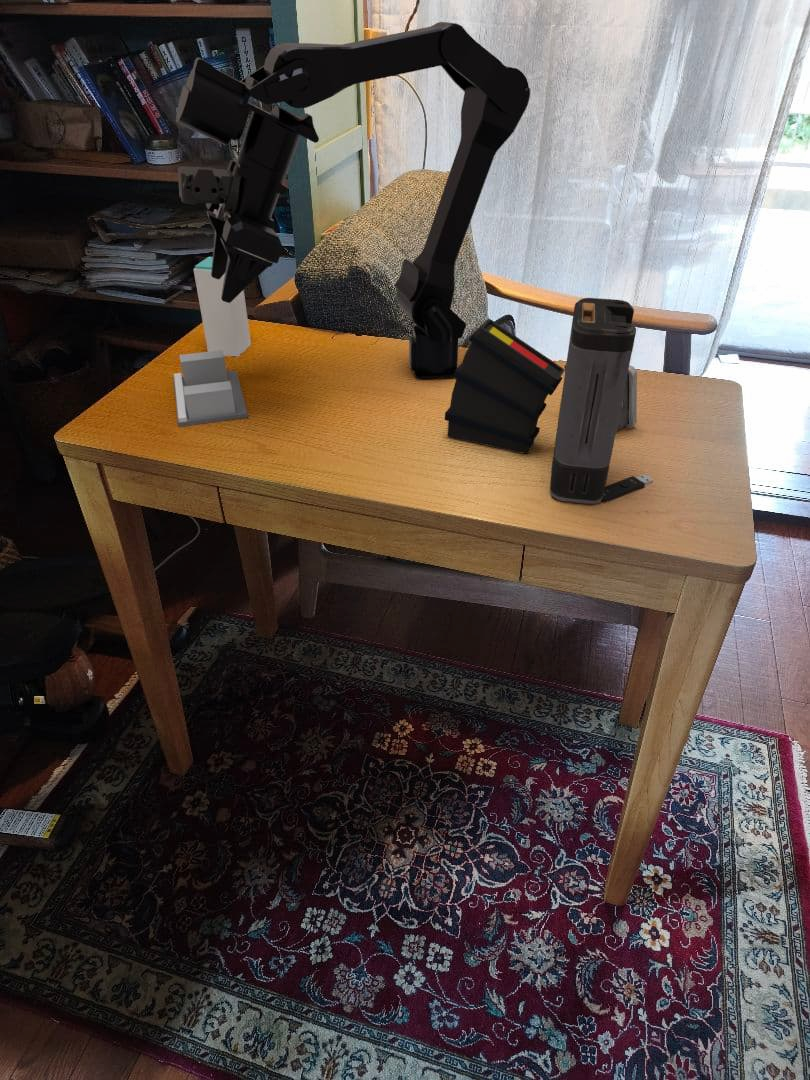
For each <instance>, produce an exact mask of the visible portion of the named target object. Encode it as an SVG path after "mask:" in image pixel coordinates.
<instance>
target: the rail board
mask: <svg viewBox="0 0 810 1080" xmlns="http://www.w3.org/2000/svg"><path fill="white" fill-rule="evenodd" d="M179 361H180V367H181V371H182V372H178V373H177V372H176V373H174V374H173V385H174V386H173V387H174V389H173V390H174V398H175V399H174V400H175V407H176V408H175V410H176V418H177V425H178V426H177V427H180V428H181V427H186V426H193V425H200V424H209V423H217V422H224V421H225V422H226V421H231V420H232V421H233V420H239V419H247V418H249V415H248V411H247V406H246V403H245V399H244V395H243V391H242V387H241V383H240V379H239V376H238V372H237V370H228V371H227V366H226V359H225V356H224V354H223V350H219V351H211V352H208V351H203V352H194V353H193V352H192V353H187V354H179Z"/></svg>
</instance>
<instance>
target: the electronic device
mask: <svg viewBox="0 0 810 1080" xmlns="http://www.w3.org/2000/svg"><path fill="white" fill-rule="evenodd" d="M634 314H635V310H634V307H633V306H632V305H631V304H630V303H629V302H628V301H625V300H622V299H614V298H613V299H611V298H598V297H597V298H596V297H584V298H580V299H579V300H578V301H577V302H575V303H574V307H573V315H572V322H571V328H570V337H569V340H568V341H569V343H568V350H567V357H566V362H565V363H566V364H565V365H566V369H565V368H564V376H563V384H562V389H561V390H562V391H561V399H560V404H559V405H560V407H559V412H558V420H557V426H556V427H557V428H556V432H555V433H556V434H555V440H554V447H553V454H552V460H551V471H550V472H551V473H550V481H549V482H550V483H549V484H550V485H549V492H550V494H551V496H552V497H553V498H555V500H558V501H561V502H565V503H577V504H583V505H584V504H586V505H593V504H597V503H599V502H602V501H601V500H602V499H603V495H604V490H605V486H607V484H606V483H607V480H608V479H607V478H608V474H609V470H610V463H611V461H612V460H611V459H612V455H613V450H614V449H613V448H614V444H615V439H616V436H617V435H616V434H617V431H618V430H617V425H618V420H619V414H620V410H621V406H622V401H623V396H624V390H625V384H626V379H627V374H628V369H629V365H630V364H631V359H632V353H633V350H634V349H633V348H634V344H635V339H636V334H637V327H636V326H635V325H634V323H633V318H634ZM616 430H617V431H616Z"/></svg>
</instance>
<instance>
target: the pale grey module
mask: <svg viewBox="0 0 810 1080" xmlns="http://www.w3.org/2000/svg"><path fill="white" fill-rule="evenodd" d="M212 259H213V256H208V257H206V258H205V259H203V260H202V261H200V262H198V264H195V265H194V268H193V274H194V280H195V285H196V290H197V297H198V301H199V302H198V303H199V307H200V309H199V310H200V313H201V320H202V326H203V332H204V336H205V343H206V348H207V352H211V351H219V350H223V354H224V357H231V356H236V357H235V358H238V357H237V356H239V357H240V356H241V355H242V354H243V353H244V352H246V350H247V349H248V348H249V347H250V346H251V345H252V342H251V334H250V328H249V321H248V320H249V319H248V313H247V312H248V311H247V305H246V297H245V289H244V290H243V291H242V292H241V293H240V294H239V295H238V296H237V297H236V298H235V299H234V300H233V301H232V302H230V303H227V302H224V301H222V299H221V296H222V289H223V283H224V277H225V273H224V275H223V276H222V277H221V278H220V279H215V278H213V277H212V276H211V271H212ZM241 353H242V354H241ZM240 354H241V355H240Z"/></svg>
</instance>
